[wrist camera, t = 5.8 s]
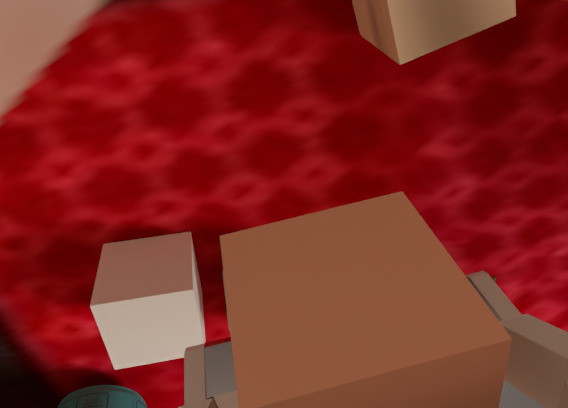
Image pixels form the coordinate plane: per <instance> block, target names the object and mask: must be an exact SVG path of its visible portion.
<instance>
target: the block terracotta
mask: <svg viewBox="0 0 568 408" xmlns="http://www.w3.org/2000/svg"><path fill="white" fill-rule="evenodd" d="M220 245H221V254H222V263H223V272H224V281H225V289H226V298H227V307H228V316H229V325H230V334H231V343H232V352H233V360H234V369H235V378H236V387H237V396H238V405H239V408H498V406H499V401H500V396H501V391H502V386H503V382H504V377H505V372H506V367H507V362H508V357H509V352H510V347H511V342H512V338H511V337H510V335H509V334H508V333H507V331H506V330H505V328H504V327H503V326H502V324H501V323H500V322H499V320H498V319H497V318H496V316H495V315H494V314H493V312H492V311H491V310H490V308H489V307H488V306H487V304H486V303H485V302H484V300H483V299H482V298H481V296H480V295H479V294H478V292H477V291H476V289H475V288H474V287H473V285H472V284H471V283H470V281H469V280H468V279H467V277H466V276H465V275H464V273H463V272H462V271H461V269H460V268H459V267H458V265H457V264H456V263H455V261H454V260H453V259H452V257H451V256H450V255H449V253H448V252H447V251H446V249H445V248H444V246H443V245H442V244H441V242H440V241H439V240H438V238H437V237H436V236H435V234H434V233H433V232H432V230H431V229H430V228H429V226H428V225H427V224H426V222H425V221H424V220H423V218H422V217H421V216H420V214H419V213H418V212H417V210H416V209H415V208H414V206H413V205H412V203H411V202H410V201H409V199H408V198H407V197H406V195H405V194H404V193H403V191H401V192H397V193H393V194H388V195H384V196H380V197H376V198H372V199H368V200H364V201H360V202H356V203H352V204H348V205H344V206H339V207H335V208H331V209H327V210H323V211H319V212H315V213H311V214H307V215H303V216H299V217H295V218H290V219H286V220H282V221H278V222H274V223H270V224H266V225H262V226H258V227H254V228H250V229H246V230H241V231H237V232H233V233H229V234H225V235H221V236H220Z"/></svg>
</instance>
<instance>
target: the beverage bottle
mask: <svg viewBox="0 0 568 408" xmlns="http://www.w3.org/2000/svg"><path fill="white" fill-rule="evenodd" d="M57 408H147V406H146V403H145V401H144V399H143V398H142V397H141V396H140V395H139V394H138V393H136V392H135V391H133V390H131V389H128V388H125V387H122V386H116V385H96V386H90V387H85V388H82V389H79V390H77V391H74V392H72V393H71V394H69V395H67V396H66V397H65V398H64V399H63V400H62V401H61V402H60V404H59V405H58V407H57Z"/></svg>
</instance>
